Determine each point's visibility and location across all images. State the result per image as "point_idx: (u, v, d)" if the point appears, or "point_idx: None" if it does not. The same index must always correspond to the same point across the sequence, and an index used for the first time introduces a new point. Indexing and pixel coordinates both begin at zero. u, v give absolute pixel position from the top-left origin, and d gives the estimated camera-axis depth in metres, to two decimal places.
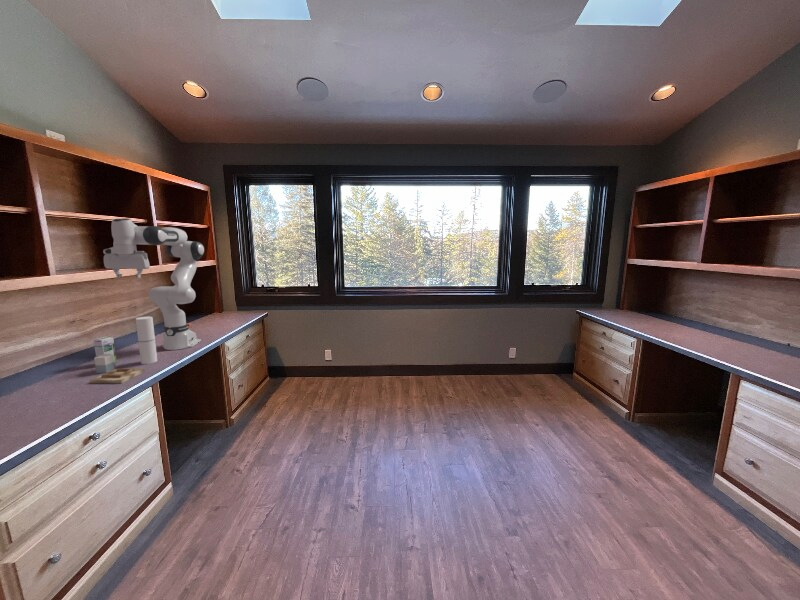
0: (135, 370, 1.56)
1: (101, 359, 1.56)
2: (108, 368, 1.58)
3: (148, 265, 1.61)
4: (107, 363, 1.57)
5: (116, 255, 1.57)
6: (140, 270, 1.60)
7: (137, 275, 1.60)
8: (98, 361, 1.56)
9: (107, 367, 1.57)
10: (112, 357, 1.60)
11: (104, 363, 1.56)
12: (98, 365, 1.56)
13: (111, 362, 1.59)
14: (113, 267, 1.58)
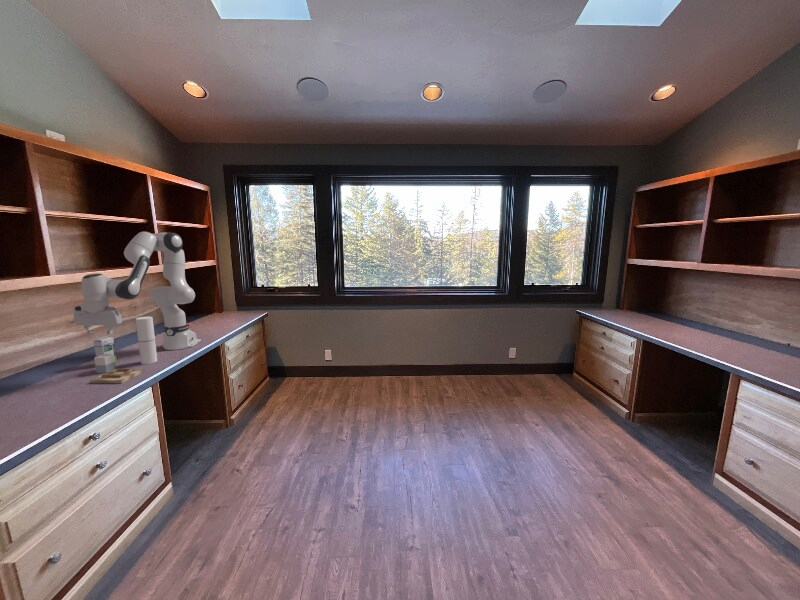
0: (135, 370, 1.56)
1: (101, 359, 1.56)
2: (108, 368, 1.58)
3: (120, 321, 1.56)
4: (107, 363, 1.57)
5: (87, 312, 1.52)
6: (112, 326, 1.55)
7: (109, 331, 1.55)
8: (98, 361, 1.56)
9: (107, 367, 1.57)
10: (112, 357, 1.60)
11: (104, 363, 1.56)
12: (98, 365, 1.56)
13: (111, 362, 1.59)
14: (84, 324, 1.53)
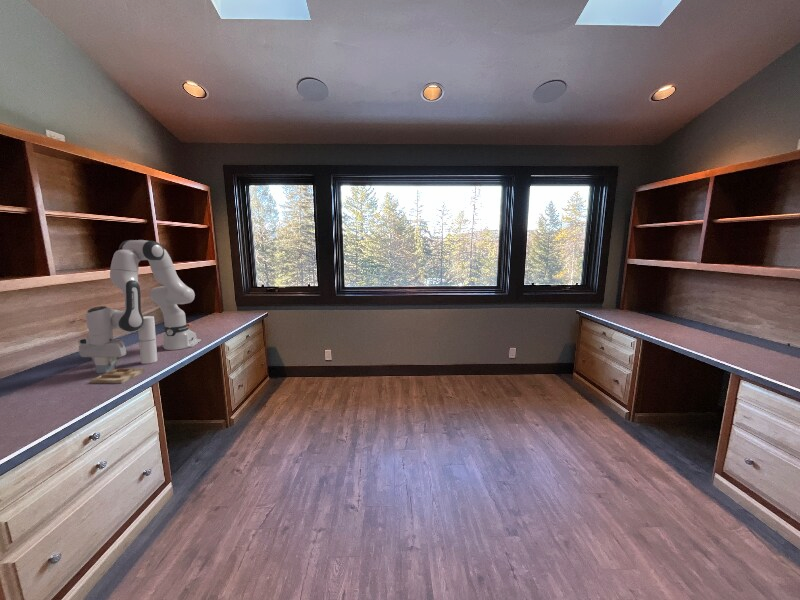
0: (135, 370, 1.56)
1: (101, 359, 1.56)
2: (108, 368, 1.58)
3: (124, 352, 1.59)
4: (107, 363, 1.57)
5: (91, 344, 1.55)
6: (113, 358, 1.58)
7: (110, 363, 1.58)
8: (98, 361, 1.56)
9: (107, 367, 1.57)
10: None
11: (104, 363, 1.56)
12: (98, 365, 1.56)
13: None
14: (89, 356, 1.56)
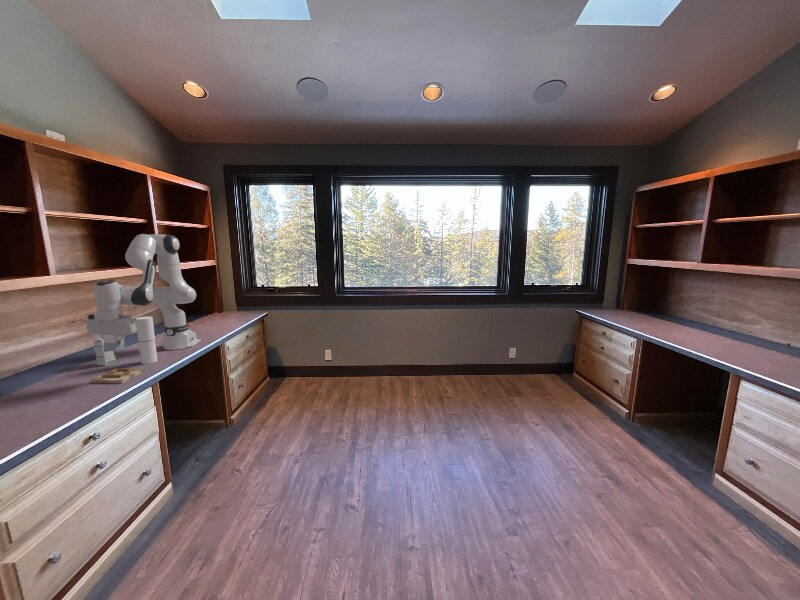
0: (135, 370, 1.56)
1: (110, 336, 1.46)
2: (117, 346, 1.48)
3: (135, 329, 1.49)
4: (116, 341, 1.47)
5: (100, 320, 1.45)
6: (123, 335, 1.48)
7: (120, 341, 1.48)
8: (107, 338, 1.46)
9: (116, 344, 1.47)
10: None
11: (113, 340, 1.46)
12: (107, 343, 1.46)
13: None
14: (97, 333, 1.46)
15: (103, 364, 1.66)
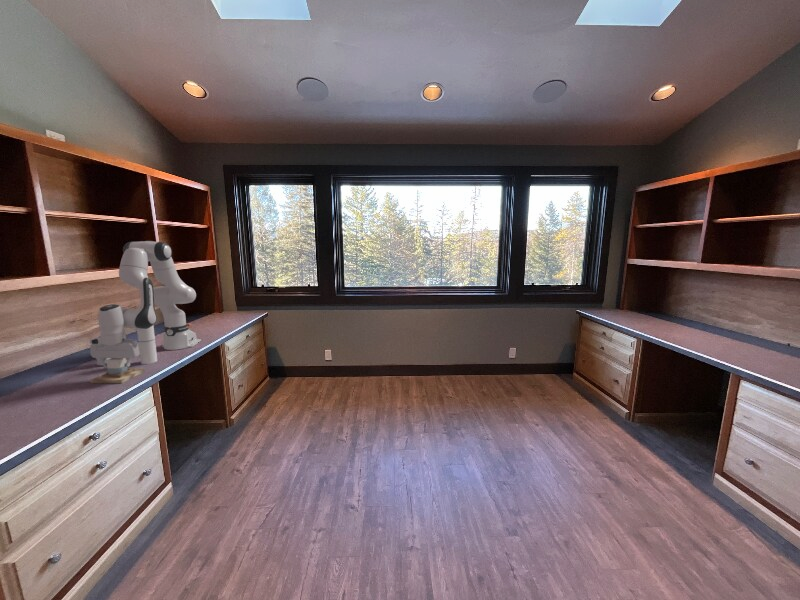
0: (135, 370, 1.56)
1: (114, 362, 1.48)
2: (120, 371, 1.50)
3: (138, 353, 1.51)
4: (120, 366, 1.50)
5: None
6: (129, 359, 1.50)
7: (126, 364, 1.50)
8: (110, 364, 1.48)
9: (119, 370, 1.49)
10: (125, 360, 1.52)
11: (117, 366, 1.48)
12: (110, 368, 1.48)
13: None
14: (100, 357, 1.48)
15: (103, 364, 1.66)
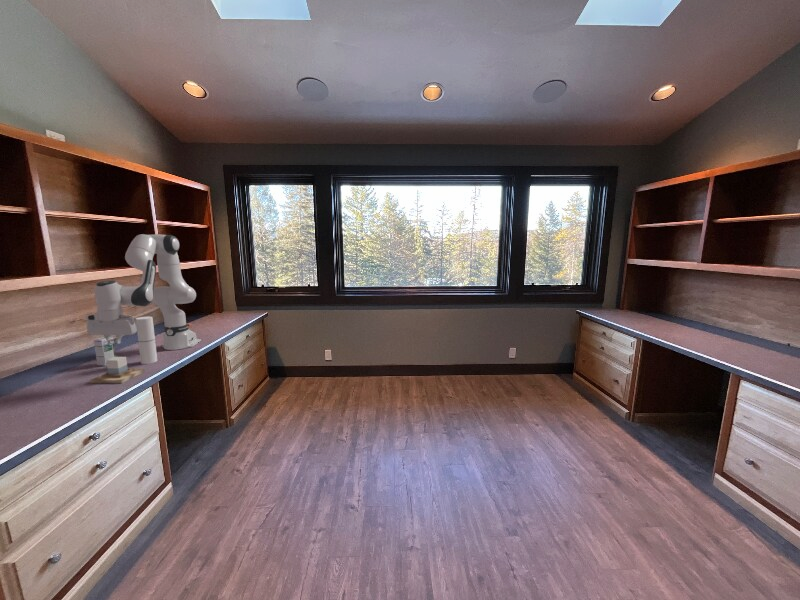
0: (135, 370, 1.56)
1: (114, 362, 1.48)
2: (120, 371, 1.50)
3: (135, 330, 1.49)
4: (120, 366, 1.50)
5: (100, 321, 1.45)
6: (120, 336, 1.48)
7: (116, 341, 1.48)
8: (110, 364, 1.48)
9: (119, 370, 1.49)
10: (125, 360, 1.52)
11: (117, 366, 1.48)
12: (110, 368, 1.48)
13: (124, 365, 1.52)
14: (97, 333, 1.46)
15: (103, 364, 1.66)
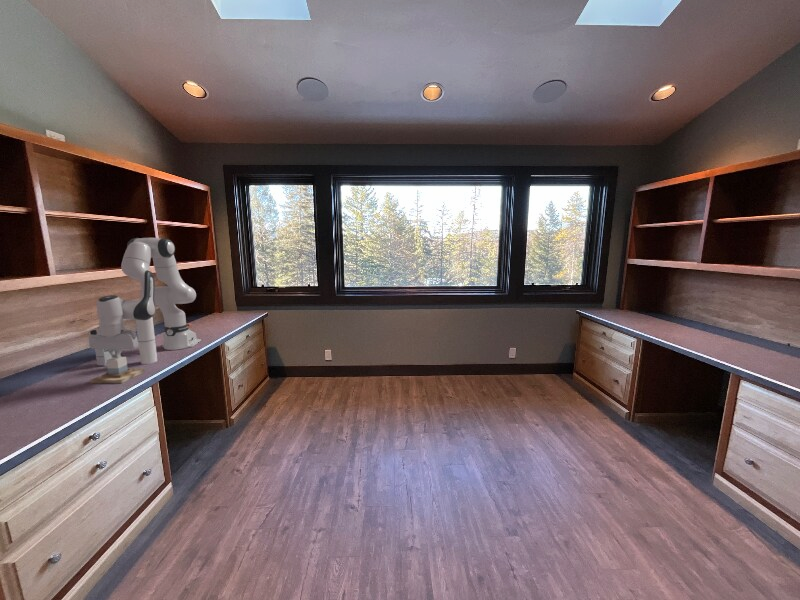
0: (135, 370, 1.56)
1: (114, 362, 1.48)
2: (120, 371, 1.50)
3: (137, 344, 1.50)
4: (120, 366, 1.50)
5: (102, 336, 1.46)
6: (120, 350, 1.49)
7: (116, 355, 1.49)
8: (110, 364, 1.48)
9: (119, 370, 1.49)
10: (125, 360, 1.52)
11: (117, 366, 1.48)
12: (110, 368, 1.48)
13: (124, 365, 1.52)
14: (99, 348, 1.47)
15: (103, 364, 1.66)
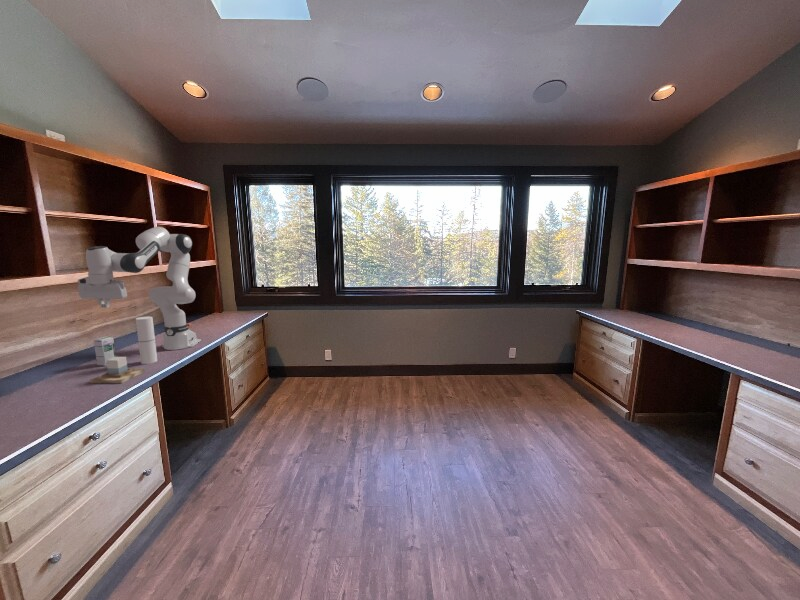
0: (135, 370, 1.56)
1: (114, 362, 1.48)
2: (120, 371, 1.50)
3: (125, 294, 1.54)
4: (120, 366, 1.50)
5: (91, 285, 1.50)
6: (108, 300, 1.53)
7: (105, 305, 1.53)
8: (110, 364, 1.48)
9: (119, 370, 1.49)
10: (125, 360, 1.52)
11: (117, 366, 1.48)
12: (110, 368, 1.48)
13: (124, 365, 1.52)
14: (88, 297, 1.51)
15: (103, 364, 1.66)
